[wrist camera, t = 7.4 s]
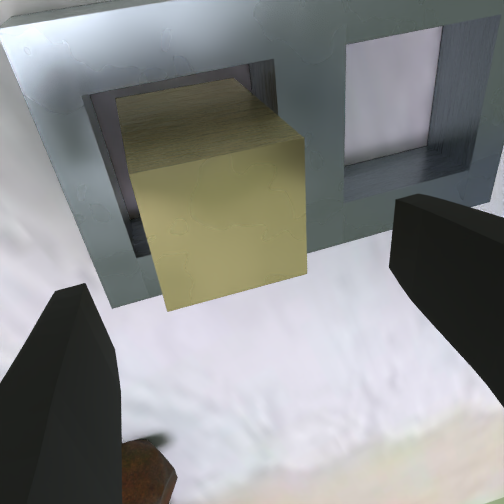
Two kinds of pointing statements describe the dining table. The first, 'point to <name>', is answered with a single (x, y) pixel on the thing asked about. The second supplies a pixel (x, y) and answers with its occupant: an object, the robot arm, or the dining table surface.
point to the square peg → (215, 189)
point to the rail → (267, 91)
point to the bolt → (146, 474)
